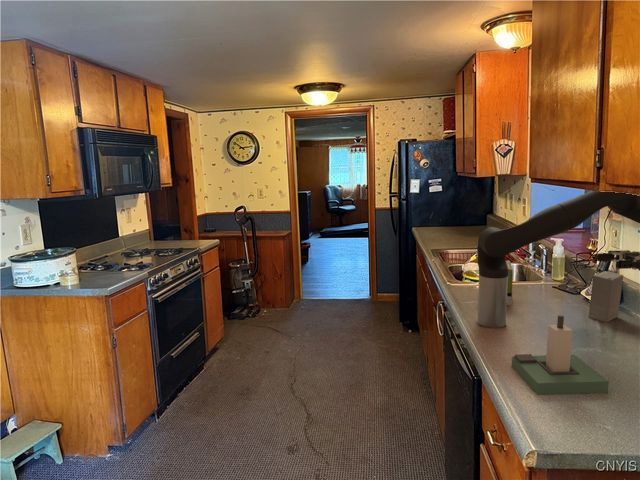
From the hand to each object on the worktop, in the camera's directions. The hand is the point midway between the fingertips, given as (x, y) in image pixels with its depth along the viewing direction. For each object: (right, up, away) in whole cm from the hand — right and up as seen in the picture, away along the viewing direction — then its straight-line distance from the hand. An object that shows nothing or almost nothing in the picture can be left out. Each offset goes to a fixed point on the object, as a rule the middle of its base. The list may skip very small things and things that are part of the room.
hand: (606, 260), depth 123 cm
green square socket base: (-17, -30, -7) cm, 35 cm away
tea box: (-7, -18, +58) cm, 62 cm away
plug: (-17, -30, -7) cm, 35 cm away
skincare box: (+21, -22, +34) cm, 46 cm away
